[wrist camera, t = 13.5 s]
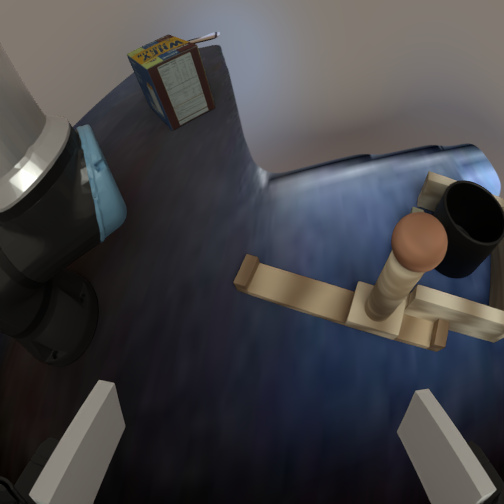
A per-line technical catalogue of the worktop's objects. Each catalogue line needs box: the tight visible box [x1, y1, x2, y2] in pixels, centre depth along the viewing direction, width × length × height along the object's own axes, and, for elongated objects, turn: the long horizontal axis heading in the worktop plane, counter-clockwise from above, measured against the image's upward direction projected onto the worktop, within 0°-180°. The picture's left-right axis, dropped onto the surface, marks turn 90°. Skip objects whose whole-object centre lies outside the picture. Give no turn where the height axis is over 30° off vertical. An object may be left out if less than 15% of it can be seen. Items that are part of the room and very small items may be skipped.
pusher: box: [345, 207, 448, 340], centre depth 28 cm, size 6×16×19 cm, turn 157°
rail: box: [233, 254, 450, 352], centre depth 34 cm, size 26×4×2 cm, turn 67°
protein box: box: [127, 35, 215, 130], centre depth 55 cm, size 10×15×16 cm
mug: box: [433, 181, 504, 278], centre depth 32 cm, size 9×12×9 cm
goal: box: [404, 172, 504, 342], centre depth 32 cm, size 15×19×6 cm
